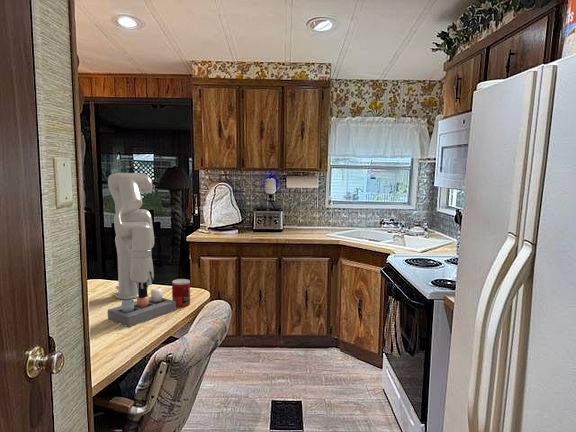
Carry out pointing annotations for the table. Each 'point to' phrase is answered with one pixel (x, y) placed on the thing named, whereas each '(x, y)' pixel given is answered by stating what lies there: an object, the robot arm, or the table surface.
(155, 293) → the white dome button
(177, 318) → the table surface
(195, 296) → the table surface
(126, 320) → the grey slotted tray
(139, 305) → the pink rounded dome
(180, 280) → the canned food
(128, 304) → the pale blue rounded dome
